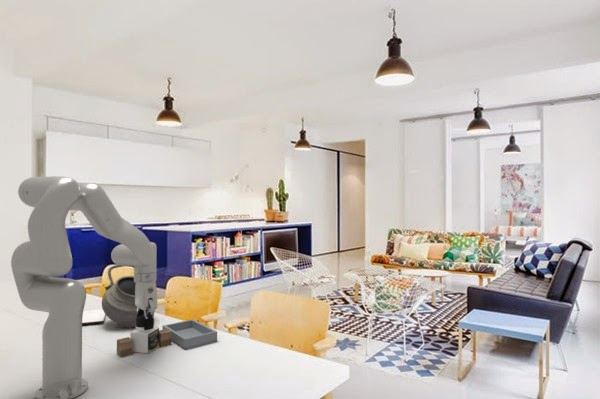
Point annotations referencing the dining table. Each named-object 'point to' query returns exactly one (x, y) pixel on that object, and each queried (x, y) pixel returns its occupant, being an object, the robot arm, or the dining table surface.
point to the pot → (120, 300)
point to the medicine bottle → (144, 337)
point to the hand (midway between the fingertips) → (145, 326)
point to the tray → (191, 334)
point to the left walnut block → (124, 347)
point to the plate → (93, 317)
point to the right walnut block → (164, 337)
